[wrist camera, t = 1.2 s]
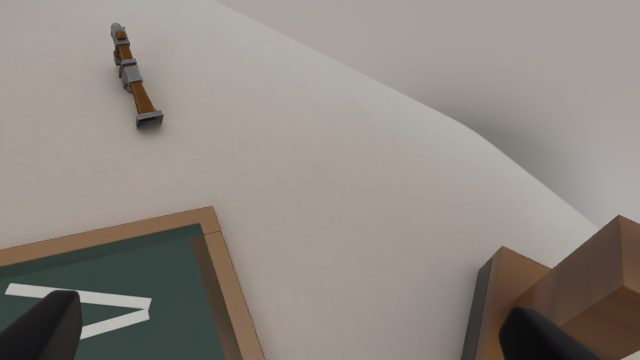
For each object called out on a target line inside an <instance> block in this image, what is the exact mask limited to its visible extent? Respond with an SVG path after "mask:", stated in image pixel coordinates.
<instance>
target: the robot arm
mask: <svg viewBox="0 0 640 360" xmlns="http://www.w3.org/2000/svg"><path fill="white" fill-rule="evenodd" d="M82 327H83V318H82V310H81V302H80V295H79V293H78V292H77V291H75V290H54V291H52V292H50V293H49V294H47V295H46V296H45V297H44V298H42V299H41V300H40V301H39V302H37V303H36V304H35V305H34V306H32V307H31V308H30V309H29V310H27V311H26V312H25V313H24V314H22V315H21V316H20V317H19V318H17V319H16V320H15V321H13V322H12V323H11V324H10V325H8V326H7V327H6V328H5V329H3V330H2V331H1V332H0V360H74V358H75V355H76V351H77V348H78V344H79V340H80V337H81V333H82ZM498 339H499V344H500V347H501V350H502V353H503V356H504V360H604V359H603V358H601V357H600V356H599V355H597V354H596V353H594V352H593V351H592V350H590V349H589V348H588V347H586V346H585V345H584V344H582V343H581V342H579V341H578V340H577V339H575V338H574V337H573V336H571V335H570V334H569V333H567V332H566V331H564V330H563V329H562V328H560V327H559V326H558V325H556V324H555V323H554V322H552V321H551V320H549V319H548V318H547V317H545V316H544V315H543V314H541V313H540V312H539V311H537V310H536V309H534V308H533V307H529V306H514V307H513V308H511V310H510V311H509V313H508V315H507V317H506V318H505V320H504V322H503V324H502V326H501V327H500V329H499V333H498Z"/></svg>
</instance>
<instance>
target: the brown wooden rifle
mask: <svg viewBox="0 0 640 360" xmlns="http://www.w3.org/2000/svg"><path fill="white" fill-rule="evenodd" d="M111 36H112V38H113V41H114V44H115V51H114V54H113V55H114V61H115V64H116V66H119V65H120V69H121V70H119V78H122V81H123V84H124V89H126V88H127V90H128V91H129V92H132V93H133V96H134V99H135V103H136V107H137V111H138V115H137V119H136V125H137V130H138V129H142V128H147V127H151V126H156V125H160V124H162V120H163V115H164V114H162V112H161V110H159V111H156V110H155V108H154V107H153V105H152V103H151V101H150V99H149V97H148V96H147V94H146V92H145V90H144V87H143V85H142V80H143V79H142V78H141V76H140V73H139V70H138V65H136V64H137V62H136V60H135V59H133V57H132V54H131V51H130V48H129V46H130V42H129V40H128V37H127V34H126V31H125V27H121V26H120V24H118V23H113V24H112V25H111Z"/></svg>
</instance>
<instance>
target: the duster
mask: <svg viewBox="0 0 640 360" xmlns="http://www.w3.org/2000/svg"><path fill="white" fill-rule="evenodd" d="M514 306H529V307H533V308H534V309H536V310H537V311H539V312H540V313H541V314H543V315H544V316H545V317H547V318H548V319H549V320H551V321H552V322H554V323H555V324H556V325H558V326H559V327H560V328H562V329H563V330H564V331H566V332H567V333H569V334H570V335H571V336H573V337H574V338H575V339H577V340H578V341H579V342H581V343H582V344H584V345H585V346H586V347H588V348H589V349H590V350H592V351H593V352H594V353H596V354H597V355H599V356H600V357H601V358H603V359H604V360H620V359H623V358H625V357H627V356H629V355H631V354H633V353H635V352H637V351H639V350H640V224H639V223H636V222H634V221H632V220H630V219H627V218H625V217H623V216H621V215H618V216H617V217H615V218H614V219H613V220H612V221H611V222H609V223H608V224H607V225H605V226H604V227H603V228H602V229H601V230H599V231H598V232H597V233H596V234H594V235H593V236H592V237H591V238H590V239H588V240H587V241H586V242H585V243H583V244H582V245H581V246H580V247H579V248H577V249H576V250H575V251H574V252H572V253H571V254H570V255H569V256H568V257H566V258H565V259H564V260H563V261H561V262H560V263H559V264H558V265H557V266H555V267H554V268H553V269H551V268H549V267H546V266H544V265H542V264H540V263H538V262H536V261H534V260H532V259H529V258H527V257H525V256H523V255H521V254H519V253H517V252H515V251H513V250H510V249H508V248H506V247H504V246H502V247H501V248H500V249H499V250H498V251H497V252H496V253H495V254H494V255H493V256H492V257H491V258H490V259H489V260H488V261H487V262H486V263H485V264H484V265H483V266H482V267H481V268H480V270H479V273H478V278H477V283H476V288H475V293H474V298H473V303H472V308H471V313H470V318H469V323H468V328H467V333H466V338H465V343H464V348H463V353H462V358H461V360H504V356H503V353H502V350H501V347H500V344H499V339H498V333H499V329H500V327H501V326H502V324H503V322H504V320H505V318H506V317H507V315H508V313H509V311H510V310H511V308H513V307H514Z"/></svg>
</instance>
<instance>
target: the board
mask: <svg viewBox="0 0 640 360" xmlns="http://www.w3.org/2000/svg"><path fill="white" fill-rule="evenodd" d="M54 290H75V291H77V292H78V293H79V295H80V302H81V310H82V318H83V327H82V333H81V337H80V340H79V344H78V348H77V351H76V355H75V358H74V360H265V357H264V354H263V351H262V348H261V346H260V343H259V340H258V337H257V334H256V331H255V328H254V325H253V322H252V319H251V316H250V313H249V311H248V308H247V305H246V302H245V299H244V296H243V293H242V290H241V287H240V284H239V281H238V278H237V276H236V273H235V270H234V267H233V264H232V261H231V258H230V255H229V252H228V249H227V246H226V243H225V240H224V238H223V235H222V232H221V229H220V226H219V223H218V220H217V217H216V214H215V211H214V208H213V206H209V207H204V208H199V209H195V210H190V211H185V212H180V213H175V214H171V215H166V216H161V217H156V218H151V219H146V220H142V221H137V222H132V223H127V224H122V225H118V226H113V227H108V228H103V229H98V230H94V231H89V232H84V233H79V234H74V235H69V236H65V237H60V238H55V239H50V240H45V241H41V242H36V243H31V244H26V245H21V246H16V247H12V248H7V249H2V250H0V332H1V331H2V330H3V329H5V328H6V327H7V326H8V325H10V324H11V323H12V322H13V321H15V320H16V319H17V318H19V317H20V316H21V315H22V314H24V313H25V312H26V311H27V310H29V309H30V308H31V307H32V306H34V305H35V304H36V303H37V302H39V301H40V300H41V299H42V298H44V297H45V296H46V295H47V294H49V293H50V292H52V291H54Z"/></svg>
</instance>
